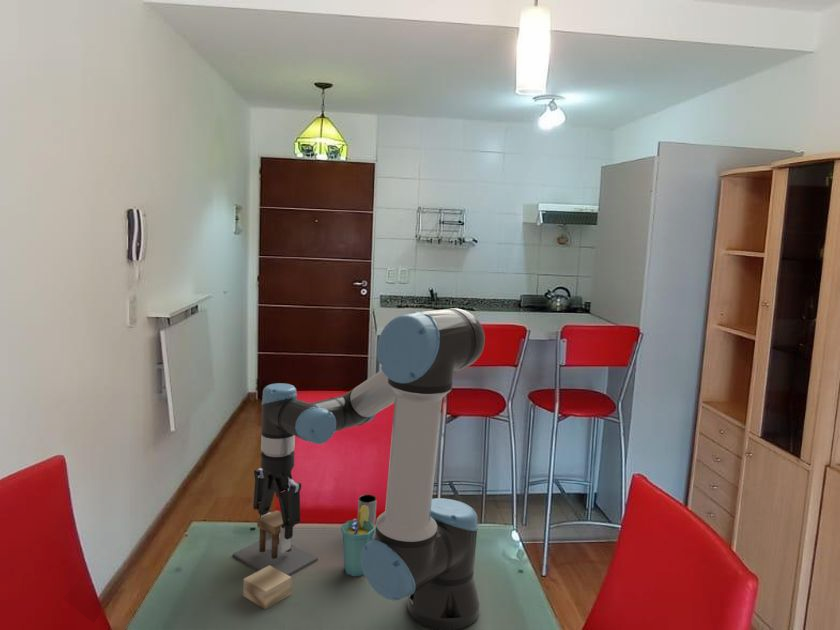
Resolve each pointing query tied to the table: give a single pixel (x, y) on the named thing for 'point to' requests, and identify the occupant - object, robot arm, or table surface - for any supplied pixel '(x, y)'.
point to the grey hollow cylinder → (371, 503)
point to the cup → (356, 541)
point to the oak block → (267, 587)
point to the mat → (283, 562)
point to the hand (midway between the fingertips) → (275, 544)
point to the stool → (270, 531)
